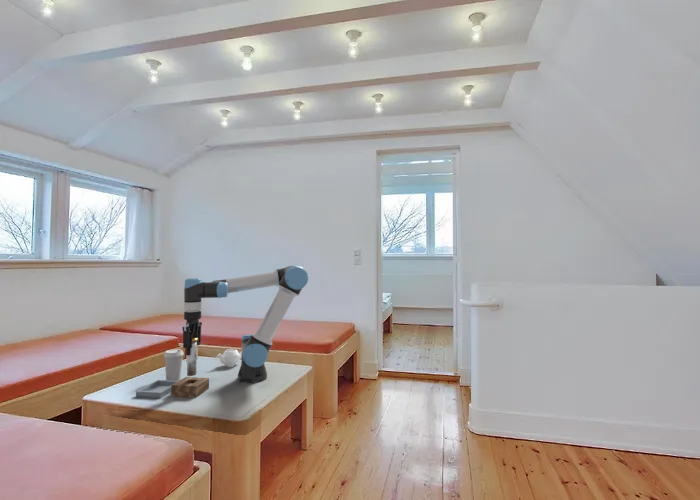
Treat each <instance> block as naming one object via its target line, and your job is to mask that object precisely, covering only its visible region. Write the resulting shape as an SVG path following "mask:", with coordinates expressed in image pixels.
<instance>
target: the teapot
mask: <svg viewBox="0 0 700 500" xmlns="http://www.w3.org/2000/svg"><path fill="white" fill-rule="evenodd" d="M218 358H219V361H220V363H221V364H223V365H224V366H226V367H227V368H232V367H235V365H236V363H238V362H239V361H240V360H242V350H241V351H240V352H239V351H238V350H237V349H236V348H228V349H226V350H225V351H224V352H223V353H218V354H217V356H216V357H215V359H218Z"/></svg>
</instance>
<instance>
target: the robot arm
mask: <svg viewBox="0 0 700 500" xmlns="http://www.w3.org/2000/svg"><path fill="white" fill-rule="evenodd" d="M308 282H309V275H308V272H307V270H306V269H305V268H304V267H302V266H299V265H290V266H287V267H286V266H285V267H283V268H277V269H275V270H274V271H270V272H265V273H264V272H263V273H257V274H251V275H250V274H249V275H246V276H245V275H244V276H238V277H231V278H226V279H219V280H218V279H217V280H215V279H214V280H212V281H210V282H205V281H203V280H202V278H200V277H196V278H195V277H192V278H190V277H189V278H186V279H185V280H184V288H183V290H184V291H183V292H184V293H183V295H184V296H183V298H184V299H183V310H184V312H183V319H184V320H185V321H186V323H185V325H184V326H182V327H181V329H182V340H183V341H182V346H183V349H185V350H186V351H185V353H186V354H185V363H187V362H192V360H193V348H191V347H192V339H193V338H198V341H197V360H198V359H199V356H198V355H199V354H198V353H199V346H200V345H201V341H202V325H203V322H201V321H200V320H201V319H202V311H201V310H202V299H213V298H214V299H215V298H216V299H221V298H227V297H228V294H232V293H238V292H243V291H244V292H245V291H246V292H247V291H251V290H256V289H257V290H258V289H262V288H269V287H275V286H276V287H278V291H277V293H276V295H275V297H274V299H273V301H272V302H271V304H270V306H269V308H268V309H267V312H266V313H265V315H264V317H263V319H262V320H261V323H260V324H259V326H258V328H257V330H256V332H254V333H251V334H244V335H242V337H241V351H242V357H241V363H240V367H239V370H238V372H237V381H239V382H242V383H258V382H262V381H265V380H266V379H267V378H268V372H267V369H266V365H265V363H266V362H267V360H268V358H269V357H268V356H269V353H270V350H271V348H272V346H273V338H274V336H275V334H276V332H277V330H278V328H279V326H280V325H281V323H282V321H283V319H284V317H285V315H286V314H287V312H288V310H289V308H290V306H291V304H292V303H293V300H294V298H296V297H298V296H299V295H300V293H301V291H302V290H303V288H305V286H306V285H308Z"/></svg>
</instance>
